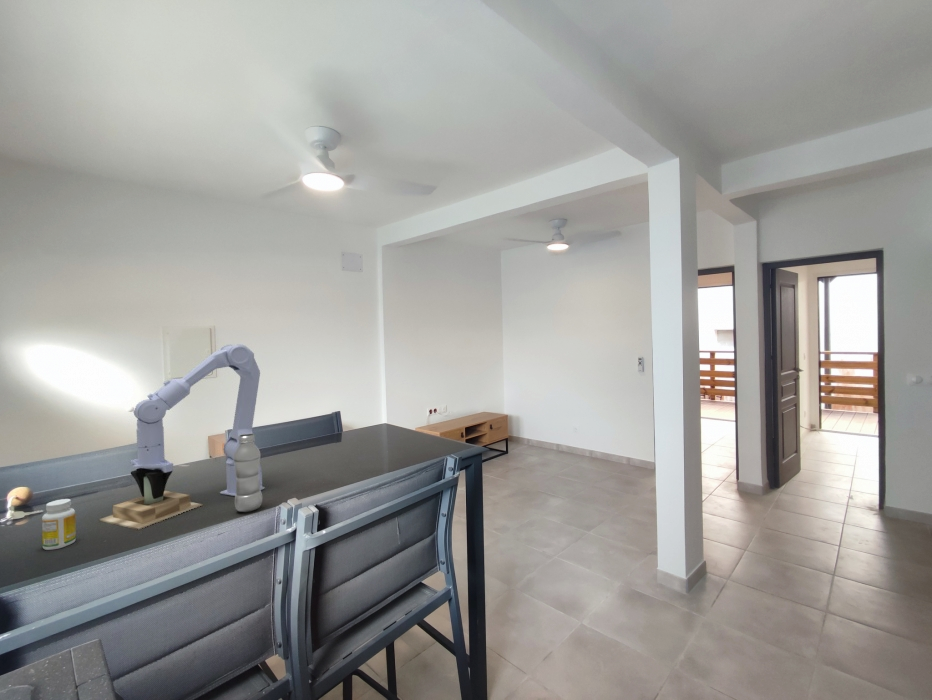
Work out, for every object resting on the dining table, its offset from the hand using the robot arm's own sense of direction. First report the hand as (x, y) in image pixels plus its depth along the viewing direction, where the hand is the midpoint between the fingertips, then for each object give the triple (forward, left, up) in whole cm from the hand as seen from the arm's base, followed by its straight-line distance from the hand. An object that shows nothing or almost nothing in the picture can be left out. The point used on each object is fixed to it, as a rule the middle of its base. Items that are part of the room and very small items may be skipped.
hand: (152, 496), depth 112 cm
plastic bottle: (-23, -10, -5) cm, 25 cm away
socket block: (0, 0, -4) cm, 4 cm away
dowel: (0, 0, -3) cm, 3 cm away
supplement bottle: (+1, +19, -5) cm, 20 cm away
